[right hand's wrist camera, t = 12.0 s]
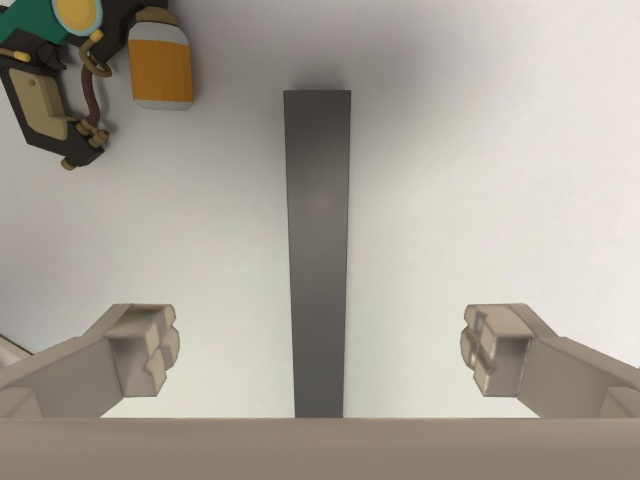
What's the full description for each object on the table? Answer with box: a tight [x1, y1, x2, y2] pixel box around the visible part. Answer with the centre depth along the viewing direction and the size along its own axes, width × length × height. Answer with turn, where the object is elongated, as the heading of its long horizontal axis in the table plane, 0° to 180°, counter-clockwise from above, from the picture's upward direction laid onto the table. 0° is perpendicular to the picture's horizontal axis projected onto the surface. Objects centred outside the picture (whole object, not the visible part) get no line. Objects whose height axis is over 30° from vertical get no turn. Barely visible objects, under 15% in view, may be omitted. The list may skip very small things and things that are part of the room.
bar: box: [284, 90, 351, 418], centre depth 41 cm, size 73×4×6 cm, turn 0°
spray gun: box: [0, 0, 194, 171], centre depth 28 cm, size 4×17×15 cm
